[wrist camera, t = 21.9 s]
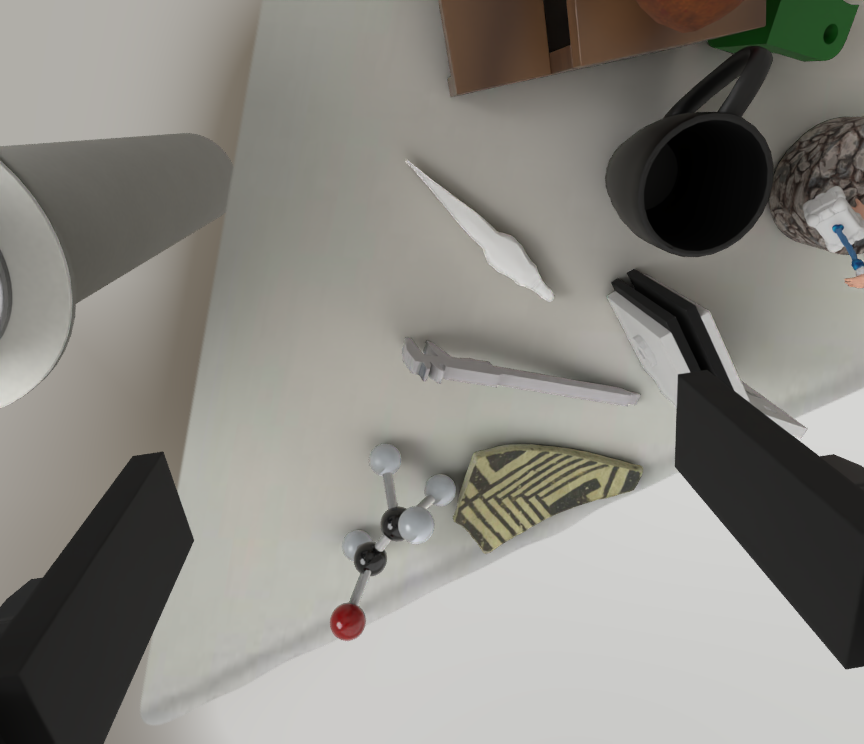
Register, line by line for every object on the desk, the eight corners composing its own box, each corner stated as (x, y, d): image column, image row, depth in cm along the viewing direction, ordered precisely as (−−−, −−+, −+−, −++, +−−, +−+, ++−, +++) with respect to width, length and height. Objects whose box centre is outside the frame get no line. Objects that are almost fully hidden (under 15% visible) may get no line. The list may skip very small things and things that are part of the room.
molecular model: (460, 477, 53) (478, 558, 43) (384, 572, 56) (385, 667, 46) (380, 432, 51) (379, 507, 41) (306, 533, 54) (289, 626, 44)
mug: (747, 87, 43) (842, 79, 34) (661, 247, 47) (726, 277, 38) (647, 36, 41) (720, 14, 32) (567, 207, 45) (612, 228, 36)
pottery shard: (458, 439, 51) (463, 451, 49) (639, 441, 54) (650, 452, 52) (446, 546, 55) (450, 560, 53) (616, 543, 58) (625, 557, 56)
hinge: (733, 374, 51) (810, 432, 42) (682, 416, 52) (746, 481, 43) (636, 259, 47) (698, 295, 37) (582, 307, 48) (629, 354, 39)
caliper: (401, 347, 48) (403, 378, 42) (404, 334, 48) (407, 364, 42) (634, 402, 52) (665, 438, 46) (639, 391, 51) (671, 425, 46)
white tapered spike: (560, 282, 47) (567, 288, 46) (536, 307, 48) (542, 314, 46) (417, 143, 43) (418, 144, 41) (392, 173, 43) (392, 175, 42)
